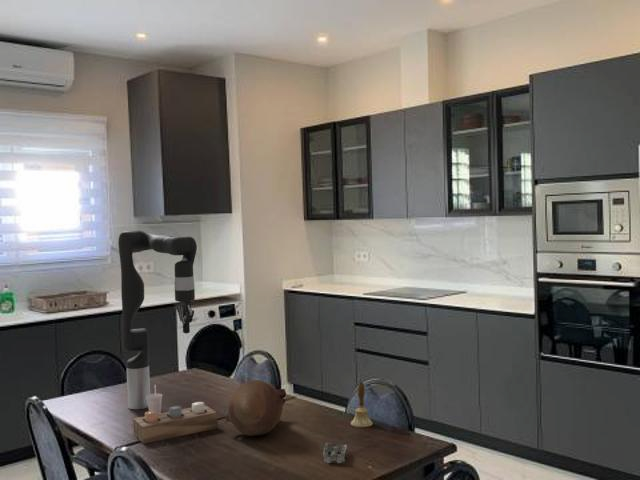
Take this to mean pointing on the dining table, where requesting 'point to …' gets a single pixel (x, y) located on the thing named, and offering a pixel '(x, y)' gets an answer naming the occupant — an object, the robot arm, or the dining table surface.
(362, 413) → the hand bell
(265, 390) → the jug
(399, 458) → the dining table surface
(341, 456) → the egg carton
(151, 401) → the smoothie
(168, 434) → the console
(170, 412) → the grey rounded cylinder
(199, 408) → the white egg
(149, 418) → the brown egg
